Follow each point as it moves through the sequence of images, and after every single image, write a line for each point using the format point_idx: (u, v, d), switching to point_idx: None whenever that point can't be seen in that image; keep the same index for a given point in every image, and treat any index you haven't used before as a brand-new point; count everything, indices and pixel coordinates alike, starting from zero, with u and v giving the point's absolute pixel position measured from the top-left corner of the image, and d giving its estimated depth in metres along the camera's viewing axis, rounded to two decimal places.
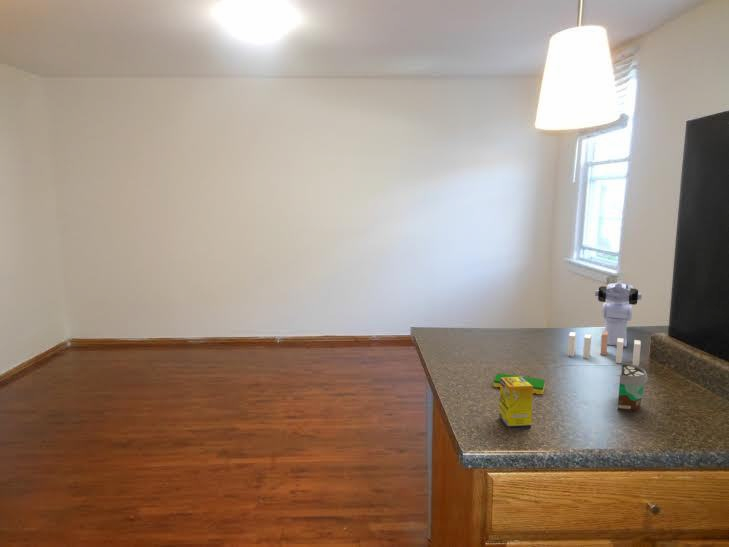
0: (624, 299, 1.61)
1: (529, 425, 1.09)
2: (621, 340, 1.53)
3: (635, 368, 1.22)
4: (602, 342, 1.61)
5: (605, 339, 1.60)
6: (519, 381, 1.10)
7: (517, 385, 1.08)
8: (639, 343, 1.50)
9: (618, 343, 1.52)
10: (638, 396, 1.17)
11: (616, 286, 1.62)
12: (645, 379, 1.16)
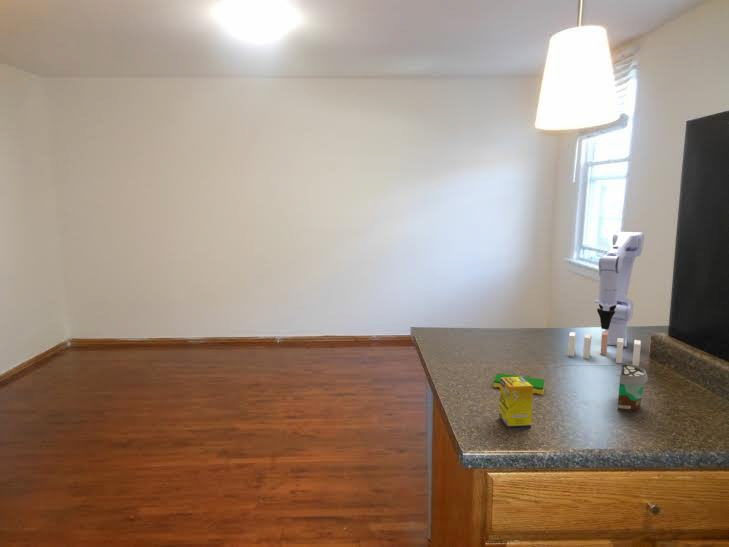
0: None
1: (529, 425, 1.09)
2: (621, 340, 1.53)
3: (635, 368, 1.22)
4: (602, 342, 1.61)
5: (605, 339, 1.60)
6: (519, 381, 1.10)
7: (517, 385, 1.08)
8: (639, 343, 1.50)
9: (618, 343, 1.52)
10: (638, 396, 1.17)
11: None
12: (645, 379, 1.16)
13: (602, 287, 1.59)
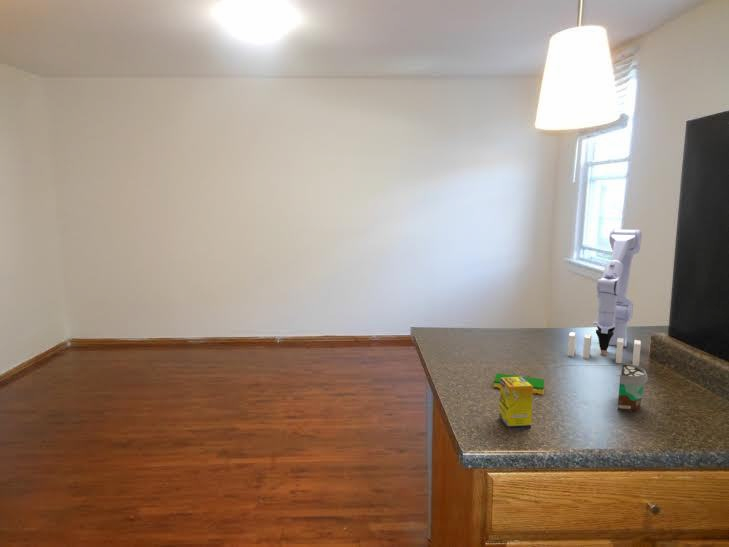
0: None
1: (529, 425, 1.09)
2: (621, 340, 1.53)
3: (635, 368, 1.22)
4: None
5: None
6: (519, 381, 1.10)
7: (517, 385, 1.08)
8: (639, 343, 1.50)
9: (618, 343, 1.52)
10: (638, 396, 1.17)
11: None
12: (645, 379, 1.16)
13: (600, 309, 1.60)
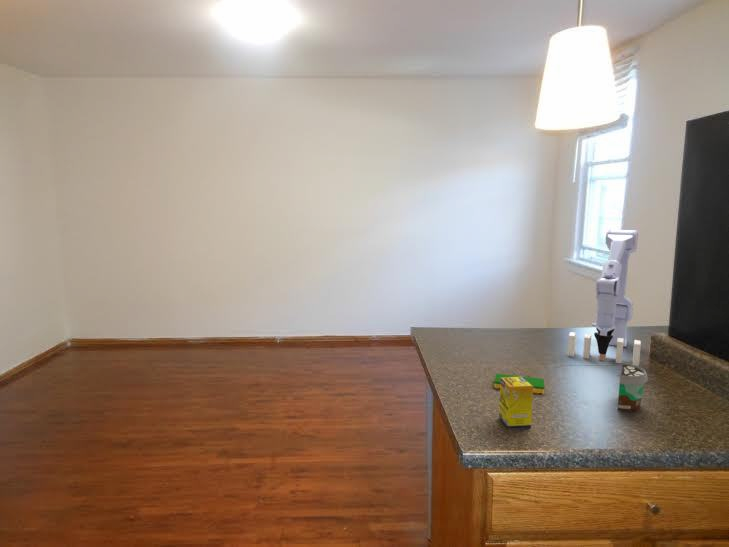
0: None
1: (529, 425, 1.09)
2: (621, 340, 1.53)
3: (635, 368, 1.22)
4: None
5: None
6: (519, 381, 1.10)
7: (517, 385, 1.08)
8: (639, 343, 1.50)
9: (618, 343, 1.52)
10: (638, 396, 1.17)
11: None
12: (645, 379, 1.16)
13: (600, 311, 1.54)
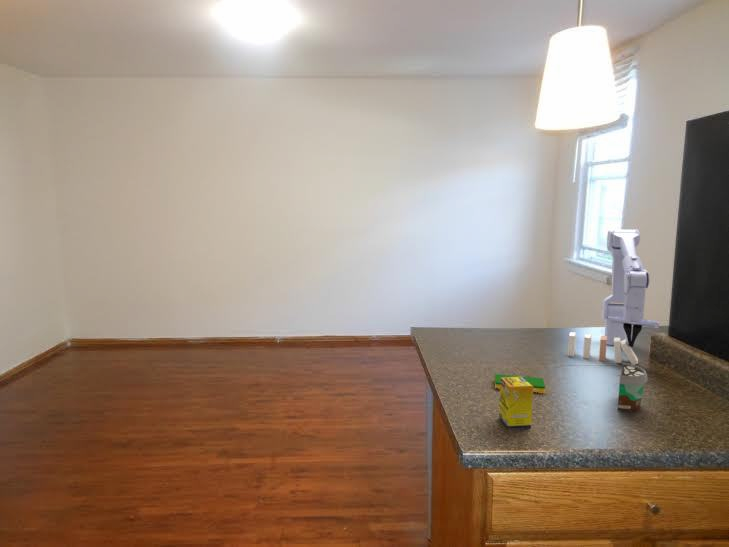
0: None
1: (529, 425, 1.09)
2: (618, 339, 1.54)
3: (635, 368, 1.22)
4: (601, 347, 1.55)
5: (604, 344, 1.54)
6: (519, 381, 1.10)
7: (517, 385, 1.08)
8: (624, 342, 1.52)
9: (615, 343, 1.52)
10: (638, 396, 1.17)
11: None
12: (645, 379, 1.16)
13: (631, 305, 1.48)
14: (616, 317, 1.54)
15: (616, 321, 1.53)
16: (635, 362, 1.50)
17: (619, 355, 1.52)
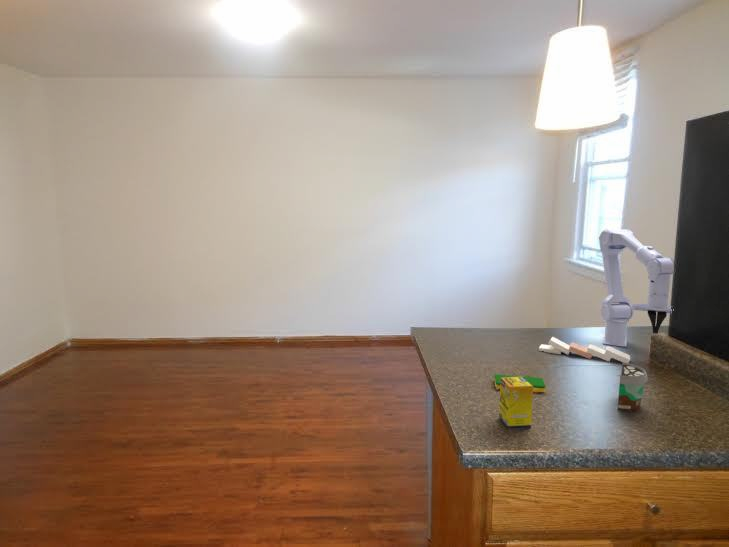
0: None
1: (529, 425, 1.09)
2: (588, 347, 1.59)
3: (635, 368, 1.22)
4: (577, 352, 1.59)
5: (574, 349, 1.59)
6: (519, 381, 1.10)
7: (517, 385, 1.08)
8: (606, 349, 1.55)
9: (588, 351, 1.57)
10: (638, 396, 1.17)
11: (655, 310, 1.50)
12: (645, 379, 1.16)
13: (661, 292, 1.49)
14: (640, 304, 1.56)
15: (640, 308, 1.54)
16: (627, 360, 1.51)
17: (602, 355, 1.55)
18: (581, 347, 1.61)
